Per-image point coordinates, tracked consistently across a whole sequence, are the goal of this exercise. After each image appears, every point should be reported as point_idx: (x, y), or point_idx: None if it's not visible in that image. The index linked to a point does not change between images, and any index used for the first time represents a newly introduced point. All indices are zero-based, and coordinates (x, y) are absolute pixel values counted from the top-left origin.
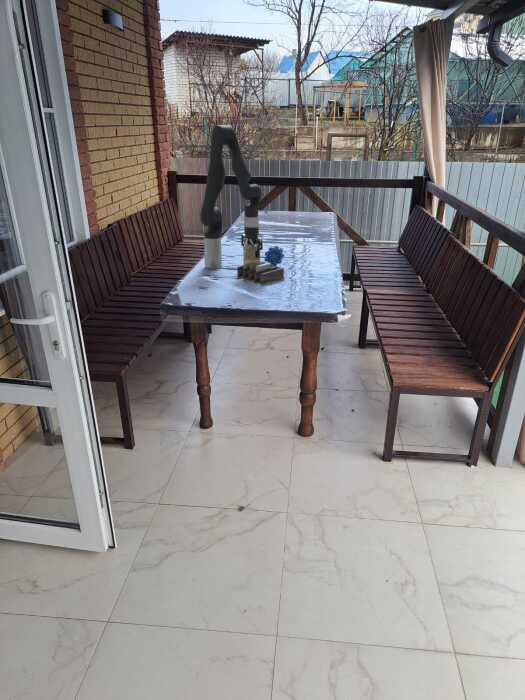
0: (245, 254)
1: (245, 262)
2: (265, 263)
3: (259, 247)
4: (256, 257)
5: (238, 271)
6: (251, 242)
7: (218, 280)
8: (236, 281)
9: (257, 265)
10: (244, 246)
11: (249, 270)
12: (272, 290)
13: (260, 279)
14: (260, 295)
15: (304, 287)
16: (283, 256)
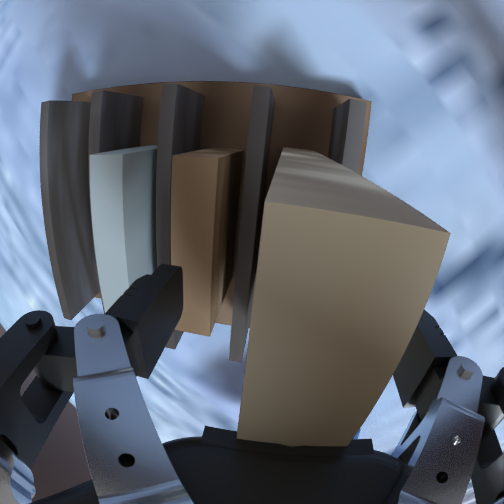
0: (290, 162)
1: (292, 154)
2: (126, 286)
3: (2, 345)
4: (162, 268)
5: (340, 105)
6: (157, 491)
7: (406, 16)
8: (298, 57)
9: (120, 179)
10: (361, 209)
11: (166, 86)
12: (37, 116)
13: (74, 101)
14: (41, 33)
15: (9, 251)
16: None
